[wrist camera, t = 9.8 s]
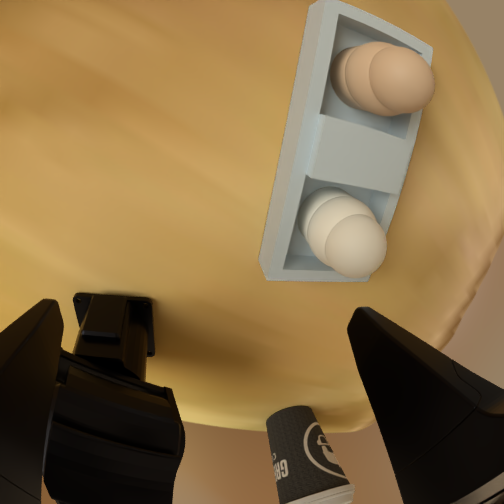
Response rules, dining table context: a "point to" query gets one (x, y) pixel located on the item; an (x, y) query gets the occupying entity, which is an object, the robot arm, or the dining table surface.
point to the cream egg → (342, 232)
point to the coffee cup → (305, 460)
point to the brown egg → (382, 79)
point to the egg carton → (335, 142)
